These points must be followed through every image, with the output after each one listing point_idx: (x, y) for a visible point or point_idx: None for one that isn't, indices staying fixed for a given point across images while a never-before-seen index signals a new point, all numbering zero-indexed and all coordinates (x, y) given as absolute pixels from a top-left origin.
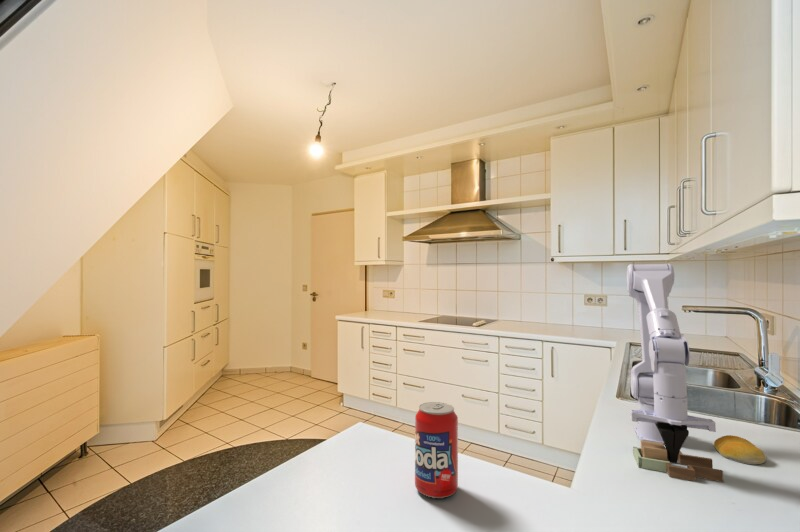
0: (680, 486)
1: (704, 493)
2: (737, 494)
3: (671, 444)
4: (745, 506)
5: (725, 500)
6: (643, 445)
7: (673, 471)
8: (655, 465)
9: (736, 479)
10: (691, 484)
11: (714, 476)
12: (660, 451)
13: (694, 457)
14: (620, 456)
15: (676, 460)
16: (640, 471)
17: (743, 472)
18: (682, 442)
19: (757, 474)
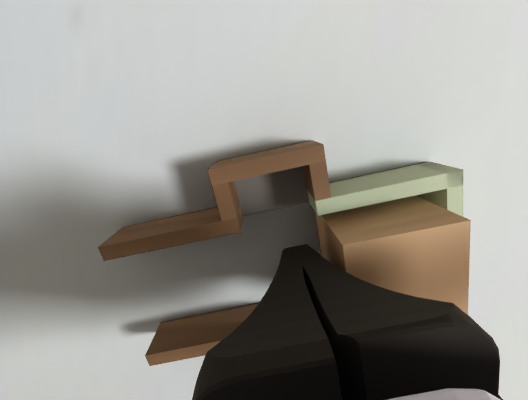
0: (273, 57)
1: (182, 45)
2: (69, 131)
3: (325, 284)
4: (31, 11)
5: (104, 23)
6: (467, 249)
7: (300, 147)
8: (371, 180)
9: (85, 283)
10: (230, 116)
11: (144, 228)
12: (372, 233)
13: (211, 339)
14: (488, 240)
15: (285, 250)
16: (426, 120)
17: (71, 360)
18: (257, 309)
19: (32, 370)
